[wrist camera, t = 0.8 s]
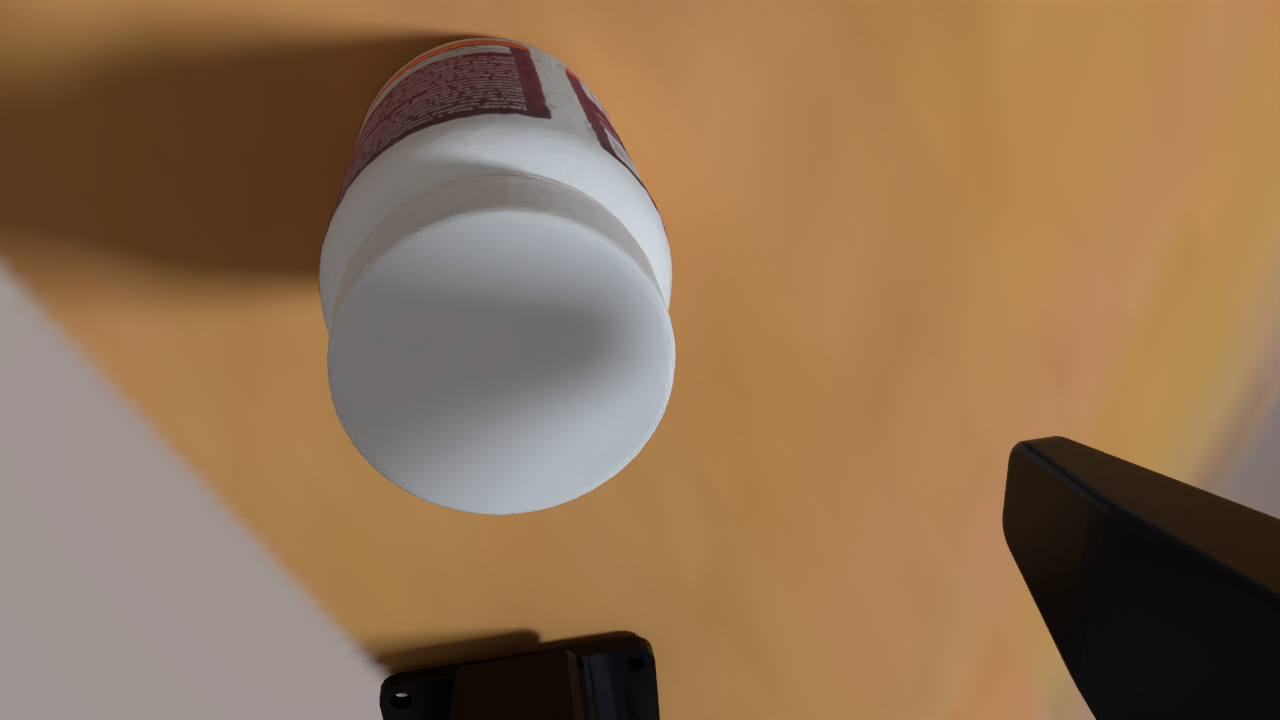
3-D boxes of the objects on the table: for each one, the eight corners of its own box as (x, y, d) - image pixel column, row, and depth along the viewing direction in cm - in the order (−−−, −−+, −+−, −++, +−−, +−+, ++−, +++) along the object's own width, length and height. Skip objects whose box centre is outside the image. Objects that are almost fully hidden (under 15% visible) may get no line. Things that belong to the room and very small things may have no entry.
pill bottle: (324, 232, 19) (235, 483, 12) (411, -13, 17) (369, 102, 10) (557, 316, 21) (606, 585, 13) (658, 98, 19) (780, 268, 12)
